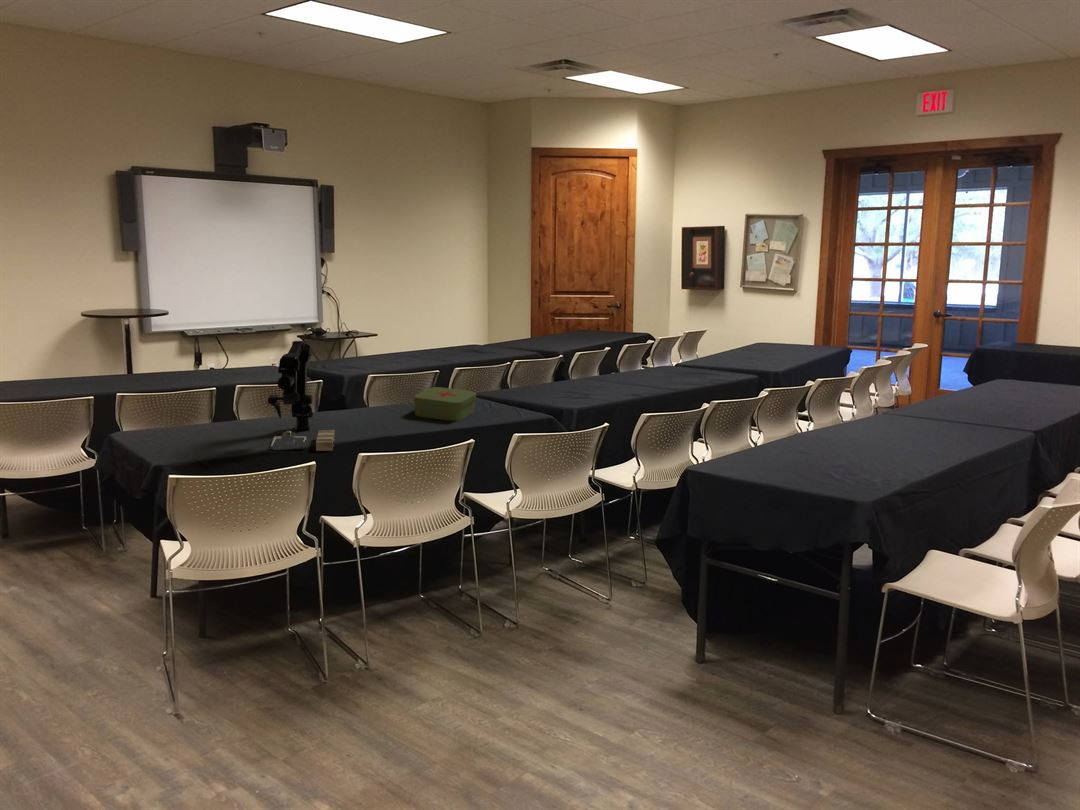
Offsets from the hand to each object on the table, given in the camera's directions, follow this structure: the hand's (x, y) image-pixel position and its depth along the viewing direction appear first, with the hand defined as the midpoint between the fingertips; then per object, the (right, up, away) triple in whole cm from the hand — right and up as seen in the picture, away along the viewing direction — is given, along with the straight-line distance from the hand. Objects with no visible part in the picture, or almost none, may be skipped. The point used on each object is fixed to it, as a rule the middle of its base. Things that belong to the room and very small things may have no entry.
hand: (291, 417), depth 392 cm
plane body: (+15, -12, +3) cm, 19 cm away
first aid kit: (+62, +1, +63) cm, 88 cm away
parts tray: (-1, -12, 0) cm, 12 cm away
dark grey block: (-1, -11, 0) cm, 12 cm away
